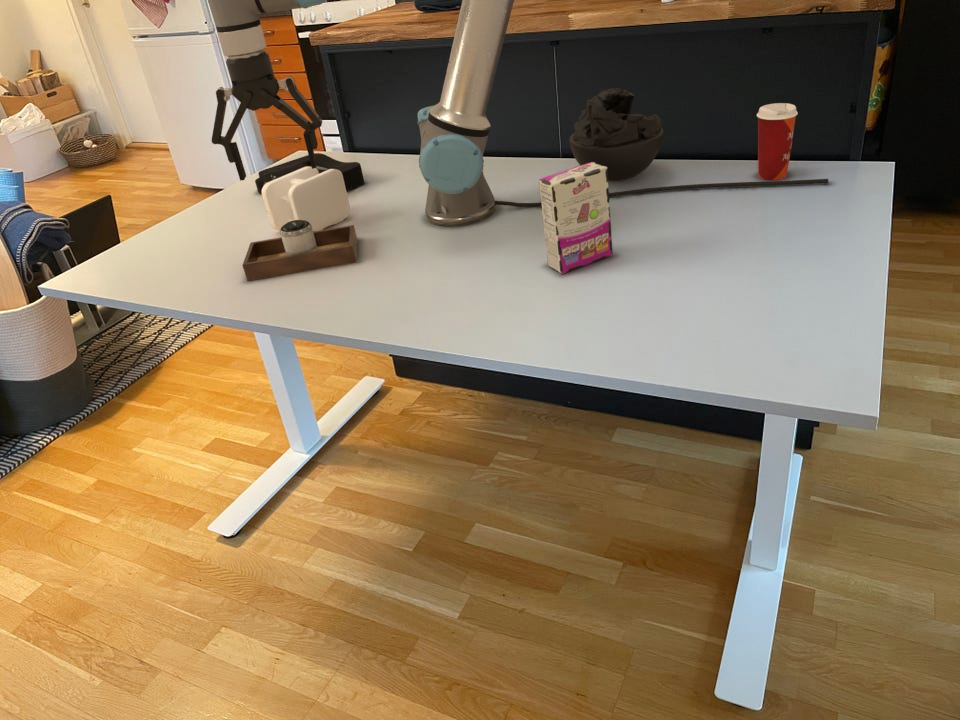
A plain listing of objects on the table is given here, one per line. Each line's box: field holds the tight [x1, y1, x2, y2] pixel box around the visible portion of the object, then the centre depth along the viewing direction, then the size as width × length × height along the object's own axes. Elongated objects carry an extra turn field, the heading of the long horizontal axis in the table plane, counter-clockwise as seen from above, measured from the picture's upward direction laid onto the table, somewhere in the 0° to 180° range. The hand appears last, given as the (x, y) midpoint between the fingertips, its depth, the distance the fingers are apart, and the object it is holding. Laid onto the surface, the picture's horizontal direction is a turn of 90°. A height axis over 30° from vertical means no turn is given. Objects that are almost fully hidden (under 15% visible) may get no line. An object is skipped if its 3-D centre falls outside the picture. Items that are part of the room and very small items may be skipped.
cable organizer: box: [261, 167, 351, 232], centre depth 164 cm, size 15×11×12 cm
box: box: [242, 224, 358, 282], centre depth 150 cm, size 22×12×4 cm, turn 97°
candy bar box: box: [538, 162, 613, 275], centre depth 129 cm, size 11×5×16 cm, turn 117°
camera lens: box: [279, 220, 317, 256], centre depth 149 cm, size 6×6×8 cm
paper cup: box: [756, 102, 799, 181], centre depth 152 cm, size 8×8×14 cm
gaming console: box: [254, 152, 365, 195], centre depth 189 cm, size 27×20×7 cm
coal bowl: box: [569, 87, 664, 182], centre depth 162 cm, size 20×20×19 cm
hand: (279, 172), depth 142 cm, fingers open, 13 cm apart
